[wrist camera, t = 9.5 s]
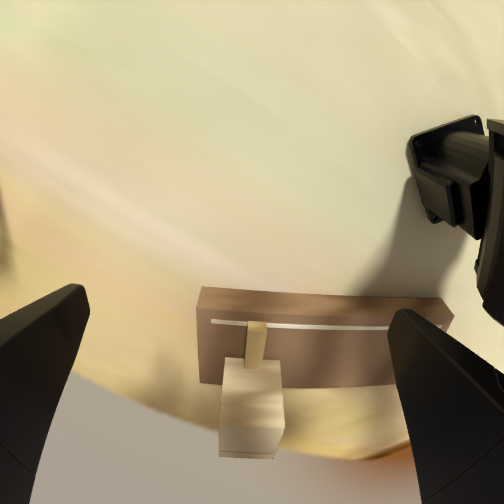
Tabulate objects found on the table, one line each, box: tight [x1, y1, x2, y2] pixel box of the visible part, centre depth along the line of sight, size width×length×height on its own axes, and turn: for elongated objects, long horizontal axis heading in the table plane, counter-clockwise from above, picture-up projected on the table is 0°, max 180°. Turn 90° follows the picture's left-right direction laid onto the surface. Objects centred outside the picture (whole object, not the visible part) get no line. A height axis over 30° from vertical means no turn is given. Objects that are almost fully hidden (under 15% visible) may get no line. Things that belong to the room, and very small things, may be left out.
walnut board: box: [196, 287, 454, 388], centre depth 23 cm, size 20×8×3 cm, turn 85°
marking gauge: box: [219, 321, 285, 459], centre depth 20 cm, size 4×9×8 cm, turn 175°
